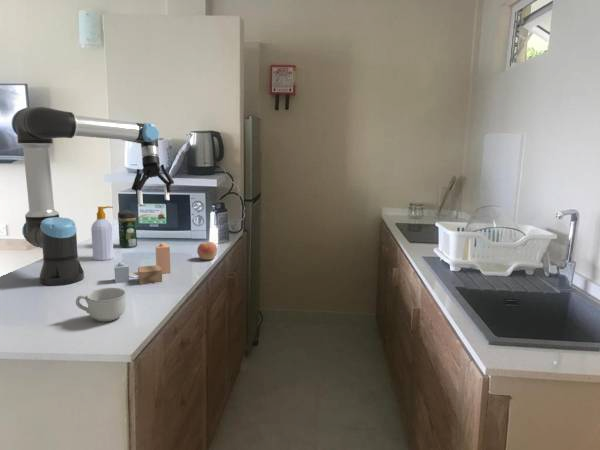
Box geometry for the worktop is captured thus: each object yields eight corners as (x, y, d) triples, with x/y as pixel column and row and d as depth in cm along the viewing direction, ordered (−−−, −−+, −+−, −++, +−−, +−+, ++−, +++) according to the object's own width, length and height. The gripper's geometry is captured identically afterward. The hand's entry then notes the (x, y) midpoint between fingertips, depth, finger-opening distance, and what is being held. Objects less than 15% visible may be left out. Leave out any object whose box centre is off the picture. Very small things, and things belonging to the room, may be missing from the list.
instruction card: (133, 277, 179) (133, 276, 179) (125, 274, 183) (124, 274, 183) (151, 273, 186) (151, 272, 186) (142, 270, 189) (142, 270, 189)
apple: (215, 261, 206) (214, 244, 204) (195, 261, 206) (195, 244, 204) (218, 257, 214) (218, 240, 213) (200, 256, 214) (199, 240, 213)
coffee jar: (117, 245, 235) (115, 209, 231) (133, 243, 239) (131, 208, 236) (123, 248, 227) (121, 212, 224) (139, 247, 232) (137, 211, 228)
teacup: (131, 311, 144) (130, 287, 142) (119, 325, 133) (118, 299, 131) (86, 311, 143) (85, 287, 142) (70, 325, 132) (69, 298, 131)
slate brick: (115, 283, 172) (114, 265, 171) (114, 279, 177) (114, 262, 176) (129, 281, 174) (128, 264, 173) (128, 278, 179) (127, 261, 177)
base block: (140, 285, 171) (139, 272, 170) (138, 279, 178) (137, 266, 177) (162, 282, 174) (161, 270, 173) (159, 277, 181) (159, 265, 181)
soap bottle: (115, 259, 206) (112, 207, 202) (92, 261, 203) (89, 208, 199) (115, 255, 214) (112, 205, 210) (93, 256, 211) (90, 205, 206)
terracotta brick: (157, 274, 185) (156, 245, 183) (156, 271, 189) (155, 242, 187) (170, 273, 187) (169, 244, 185) (168, 270, 191) (168, 242, 189)
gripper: (179, 154, 210) (182, 199, 207) (131, 163, 216) (134, 207, 213) (170, 150, 203) (174, 196, 200) (121, 159, 209) (124, 205, 206)
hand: (153, 202), depth 206 cm, fingers open, 13 cm apart
